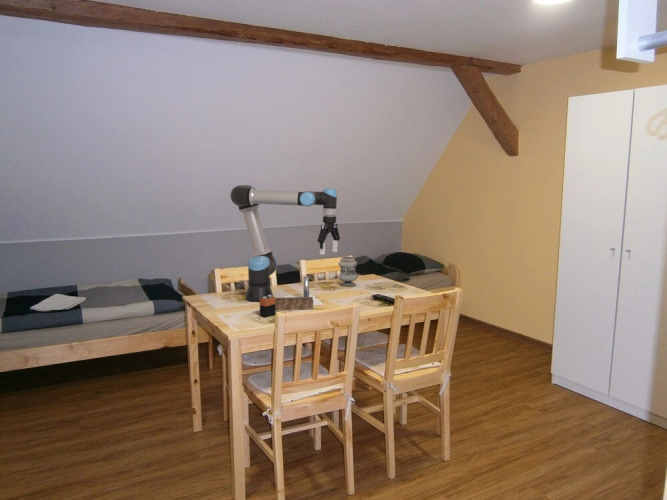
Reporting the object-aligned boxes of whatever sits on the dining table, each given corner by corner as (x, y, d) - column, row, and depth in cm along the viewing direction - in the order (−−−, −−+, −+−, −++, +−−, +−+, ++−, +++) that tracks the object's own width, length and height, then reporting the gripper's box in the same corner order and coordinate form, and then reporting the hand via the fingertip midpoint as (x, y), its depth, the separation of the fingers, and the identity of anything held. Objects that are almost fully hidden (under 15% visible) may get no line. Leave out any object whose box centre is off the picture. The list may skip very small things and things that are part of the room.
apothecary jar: (335, 284, 317) (335, 256, 315) (351, 282, 323) (351, 255, 320) (344, 288, 307) (344, 259, 304) (361, 286, 312) (361, 258, 310)
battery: (275, 315, 246) (275, 295, 244) (265, 317, 241) (265, 297, 239) (269, 313, 249) (269, 294, 247) (259, 316, 243) (259, 296, 242)
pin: (303, 302, 270) (303, 277, 268) (303, 301, 273) (303, 276, 271) (309, 302, 271) (309, 277, 269) (308, 301, 274) (308, 276, 272)
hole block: (266, 310, 254) (266, 302, 253) (267, 306, 263) (267, 297, 262) (313, 309, 256) (313, 301, 255) (312, 305, 265) (312, 297, 264)
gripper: (323, 217, 268) (322, 256, 271) (346, 215, 289) (345, 251, 292) (311, 216, 272) (311, 254, 275) (335, 214, 293) (334, 249, 296)
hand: (328, 253), depth 283 cm, fingers open, 13 cm apart
